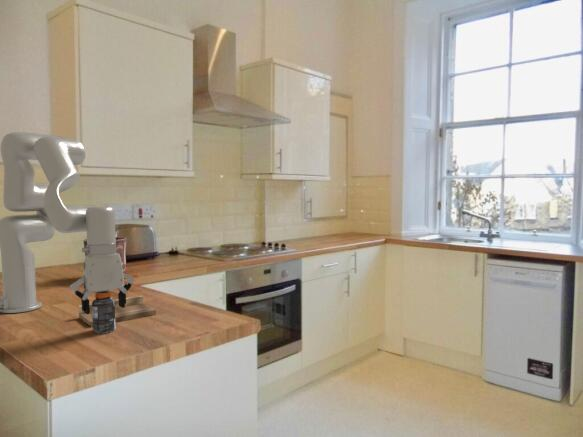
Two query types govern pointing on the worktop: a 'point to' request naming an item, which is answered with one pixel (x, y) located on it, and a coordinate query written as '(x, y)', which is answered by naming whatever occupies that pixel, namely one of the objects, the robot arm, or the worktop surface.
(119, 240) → the pottery
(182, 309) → the worktop surface
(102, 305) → the pill bottle
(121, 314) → the board
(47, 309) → the worktop surface
